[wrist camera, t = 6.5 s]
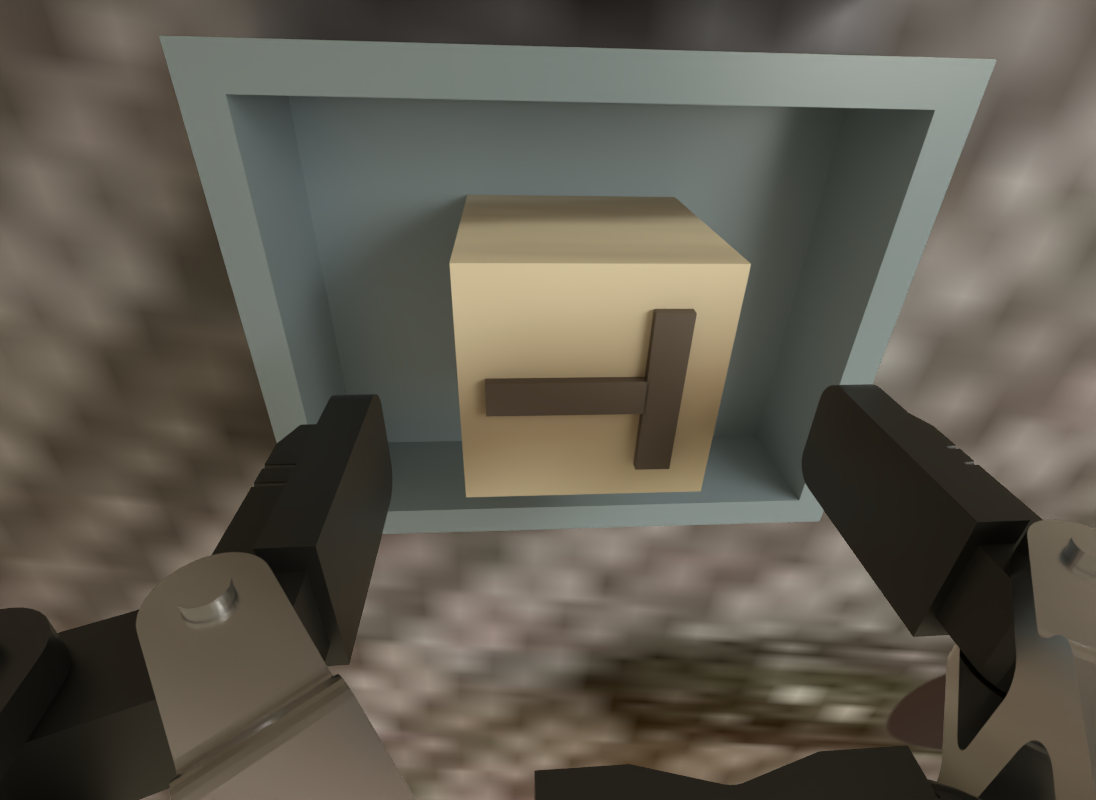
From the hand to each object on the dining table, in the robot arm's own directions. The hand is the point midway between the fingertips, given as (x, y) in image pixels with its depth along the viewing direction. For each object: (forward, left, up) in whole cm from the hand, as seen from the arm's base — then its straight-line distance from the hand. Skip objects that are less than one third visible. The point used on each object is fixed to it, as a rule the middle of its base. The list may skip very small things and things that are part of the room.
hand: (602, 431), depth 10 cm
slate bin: (0, 0, -6) cm, 6 cm away
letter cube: (0, 0, -6) cm, 6 cm away
